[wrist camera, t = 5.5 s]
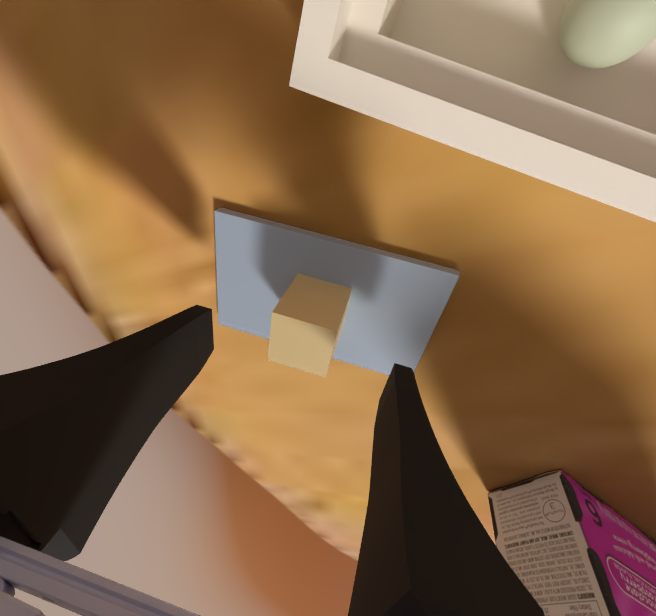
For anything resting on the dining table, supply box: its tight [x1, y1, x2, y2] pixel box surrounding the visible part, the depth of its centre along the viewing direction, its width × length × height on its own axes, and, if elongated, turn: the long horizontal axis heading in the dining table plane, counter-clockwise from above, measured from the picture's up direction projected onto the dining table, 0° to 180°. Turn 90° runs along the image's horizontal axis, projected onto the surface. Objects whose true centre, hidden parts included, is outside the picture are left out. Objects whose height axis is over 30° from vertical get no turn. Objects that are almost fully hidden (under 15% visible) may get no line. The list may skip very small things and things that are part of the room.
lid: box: [214, 207, 460, 378], centre depth 14 cm, size 10×6×4 cm, turn 79°
